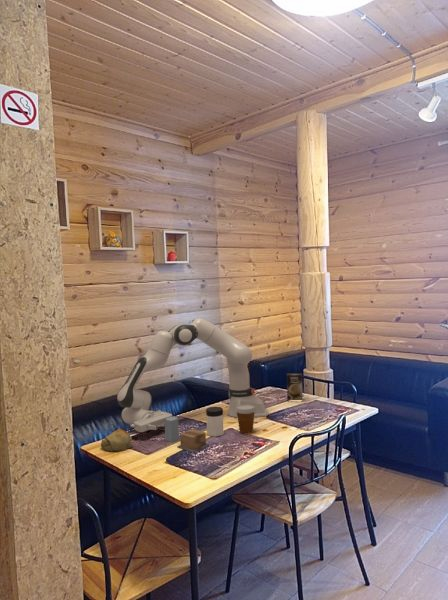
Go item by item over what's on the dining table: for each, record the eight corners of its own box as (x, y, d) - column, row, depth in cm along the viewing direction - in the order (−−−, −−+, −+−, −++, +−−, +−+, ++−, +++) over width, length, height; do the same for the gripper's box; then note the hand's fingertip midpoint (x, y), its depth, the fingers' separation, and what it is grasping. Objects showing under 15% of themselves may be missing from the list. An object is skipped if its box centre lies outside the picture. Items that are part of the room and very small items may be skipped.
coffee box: (287, 402, 262) (286, 375, 261) (287, 399, 268) (286, 372, 267) (302, 402, 260) (302, 375, 259) (302, 399, 266) (302, 372, 266)
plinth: (193, 440, 203) (192, 427, 203) (209, 445, 197) (208, 432, 196) (177, 447, 196) (176, 434, 196) (193, 452, 189) (192, 438, 189)
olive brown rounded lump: (138, 443, 203) (137, 426, 203) (125, 453, 191) (124, 435, 191) (110, 441, 207) (110, 424, 207) (96, 451, 195) (95, 433, 195)
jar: (211, 438, 206) (210, 412, 206) (202, 433, 213) (201, 408, 212) (227, 433, 211) (226, 409, 210) (218, 429, 218) (217, 405, 217)
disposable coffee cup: (232, 432, 213) (231, 407, 212) (245, 426, 220) (244, 403, 219) (247, 436, 207) (246, 411, 206) (260, 430, 213) (259, 406, 213)
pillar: (172, 437, 209) (171, 416, 208) (179, 439, 206) (178, 418, 205) (165, 440, 205) (164, 419, 205) (171, 442, 202) (171, 420, 202)
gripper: (128, 419, 210) (146, 424, 201) (161, 408, 226) (179, 413, 216) (128, 432, 211) (147, 438, 201) (161, 420, 226) (180, 426, 217)
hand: (164, 425), depth 209 cm, fingers open, 8 cm apart
